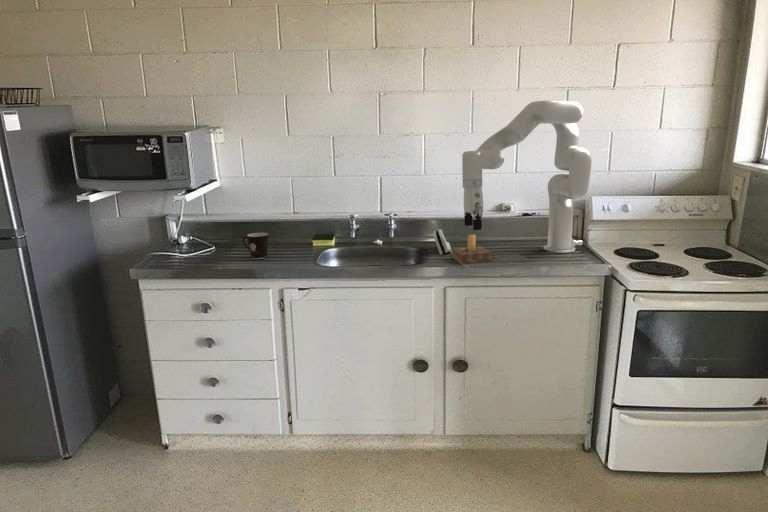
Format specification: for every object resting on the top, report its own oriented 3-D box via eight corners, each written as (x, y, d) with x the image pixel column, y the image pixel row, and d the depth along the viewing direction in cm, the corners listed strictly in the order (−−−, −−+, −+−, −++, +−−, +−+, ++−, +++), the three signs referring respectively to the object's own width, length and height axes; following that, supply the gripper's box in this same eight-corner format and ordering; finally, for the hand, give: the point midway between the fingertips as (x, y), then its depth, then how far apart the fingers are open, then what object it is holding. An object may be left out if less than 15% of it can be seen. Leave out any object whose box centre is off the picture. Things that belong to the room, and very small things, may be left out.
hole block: (480, 255, 231) (480, 246, 230) (491, 262, 219) (491, 252, 218) (452, 257, 228) (452, 248, 227) (461, 264, 217) (461, 254, 216)
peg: (473, 259, 225) (474, 234, 223) (476, 260, 223) (476, 235, 220) (466, 259, 225) (466, 234, 223) (469, 261, 222) (469, 236, 220)
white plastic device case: (452, 254, 234) (444, 232, 232) (441, 258, 235) (433, 236, 233) (450, 246, 251) (442, 225, 249) (440, 249, 251) (432, 228, 249)
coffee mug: (273, 258, 236) (271, 234, 234) (254, 261, 231) (252, 237, 228) (260, 253, 245) (259, 231, 242) (242, 257, 239) (240, 233, 237)
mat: (517, 255, 230) (517, 253, 230) (529, 261, 220) (529, 259, 219) (491, 257, 228) (491, 255, 228) (502, 263, 218) (502, 262, 217)
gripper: (490, 185, 209) (490, 230, 213) (473, 180, 226) (474, 223, 230) (470, 186, 208) (471, 232, 212) (455, 182, 225) (456, 224, 229)
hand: (472, 227), depth 221 cm, fingers open, 9 cm apart
